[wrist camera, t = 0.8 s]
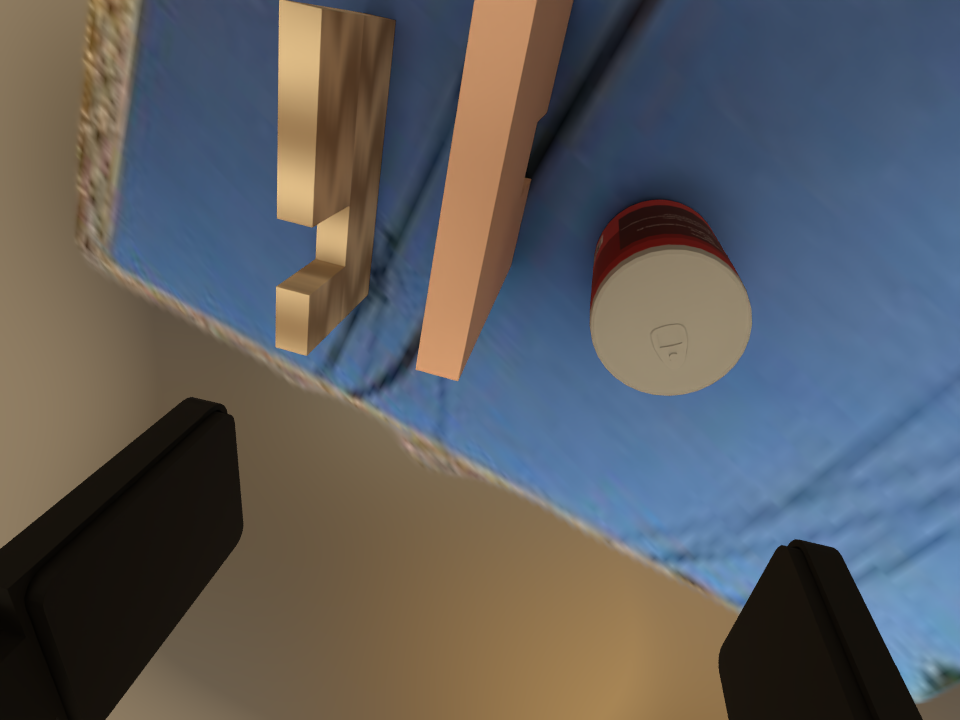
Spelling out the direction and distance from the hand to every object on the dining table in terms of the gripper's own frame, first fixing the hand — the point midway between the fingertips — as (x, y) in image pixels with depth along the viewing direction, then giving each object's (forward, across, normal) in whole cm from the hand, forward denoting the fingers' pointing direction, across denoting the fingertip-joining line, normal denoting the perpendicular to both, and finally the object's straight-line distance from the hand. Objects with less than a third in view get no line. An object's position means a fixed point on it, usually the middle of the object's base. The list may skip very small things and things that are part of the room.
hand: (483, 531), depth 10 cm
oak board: (+30, +14, +1) cm, 33 cm away
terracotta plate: (+30, +3, -2) cm, 31 cm away
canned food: (+31, -6, +3) cm, 31 cm away
